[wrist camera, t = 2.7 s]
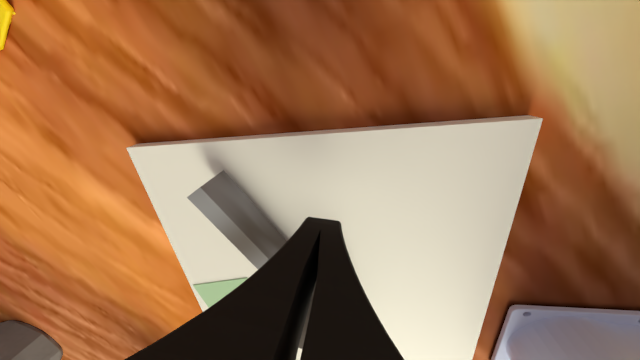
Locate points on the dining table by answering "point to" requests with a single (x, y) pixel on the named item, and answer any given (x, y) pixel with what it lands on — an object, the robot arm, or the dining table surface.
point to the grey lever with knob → (240, 223)
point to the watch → (5, 20)
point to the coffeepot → (26, 343)
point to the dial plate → (364, 213)
